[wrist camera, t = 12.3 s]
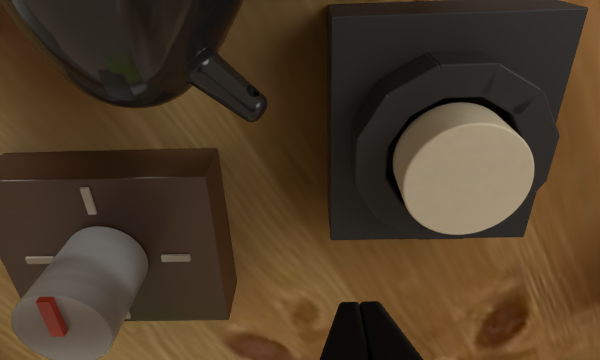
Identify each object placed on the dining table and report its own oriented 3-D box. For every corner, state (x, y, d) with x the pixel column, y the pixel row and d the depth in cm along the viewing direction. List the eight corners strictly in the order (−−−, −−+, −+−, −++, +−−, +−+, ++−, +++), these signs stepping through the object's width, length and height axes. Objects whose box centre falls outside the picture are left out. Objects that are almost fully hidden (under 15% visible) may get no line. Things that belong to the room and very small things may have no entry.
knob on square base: (327, 203, 23) (332, 266, 18) (327, 4, 18) (333, 24, 13) (497, 200, 22) (542, 263, 18) (544, -4, 17) (622, 15, 13)
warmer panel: (59, 284, 26) (30, 325, 23) (3, 152, 22) (-41, 183, 19) (237, 281, 26) (228, 322, 23) (217, 147, 21) (204, 178, 18)
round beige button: (388, 206, 17) (397, 236, 15) (396, 103, 15) (408, 124, 13) (497, 204, 17) (519, 234, 15) (521, 99, 15) (550, 121, 13)
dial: (155, 288, 22) (119, 370, 18) (79, 288, 22) (25, 370, 18) (139, 225, 20) (94, 301, 16) (56, 225, 20) (-11, 301, 16)
